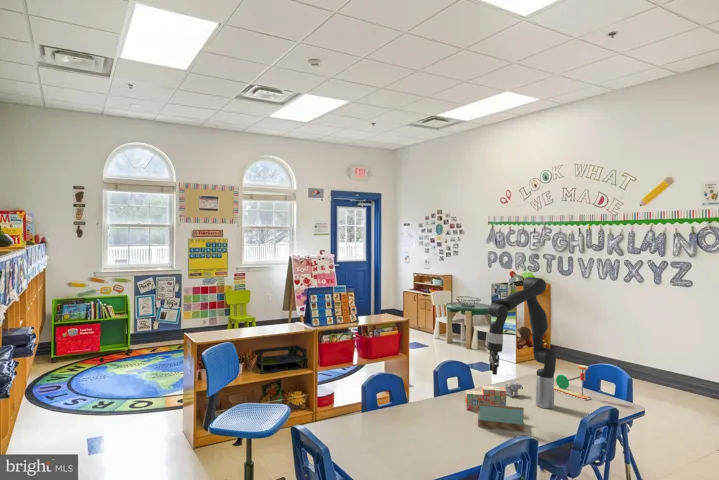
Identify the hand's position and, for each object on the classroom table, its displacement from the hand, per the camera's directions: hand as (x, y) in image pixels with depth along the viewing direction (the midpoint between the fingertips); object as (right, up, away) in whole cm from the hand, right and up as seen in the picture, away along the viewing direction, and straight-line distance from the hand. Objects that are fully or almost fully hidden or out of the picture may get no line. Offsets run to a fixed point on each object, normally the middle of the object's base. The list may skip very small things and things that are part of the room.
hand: (493, 372), depth 245 cm
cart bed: (+2, -25, -7) cm, 26 cm away
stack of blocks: (0, -25, +14) cm, 29 cm away
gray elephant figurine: (+24, -25, +39) cm, 52 cm away
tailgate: (0, -21, -14) cm, 25 cm away
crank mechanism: (+60, -26, +44) cm, 79 cm away
